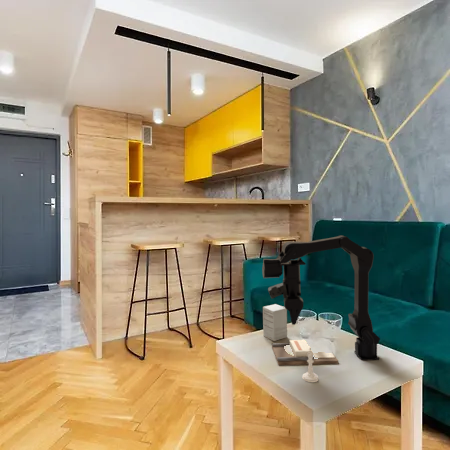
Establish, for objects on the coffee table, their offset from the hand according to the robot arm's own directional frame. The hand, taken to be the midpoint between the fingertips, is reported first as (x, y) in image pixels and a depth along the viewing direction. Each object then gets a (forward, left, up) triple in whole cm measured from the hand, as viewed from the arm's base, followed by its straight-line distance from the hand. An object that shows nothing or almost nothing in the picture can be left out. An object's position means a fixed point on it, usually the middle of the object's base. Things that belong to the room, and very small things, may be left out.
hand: (292, 319), depth 119 cm
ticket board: (-5, -2, -14) cm, 15 cm away
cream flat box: (-3, -2, -13) cm, 13 cm away
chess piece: (-2, +14, -14) cm, 20 cm away
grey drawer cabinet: (+3, -20, -14) cm, 25 cm away
